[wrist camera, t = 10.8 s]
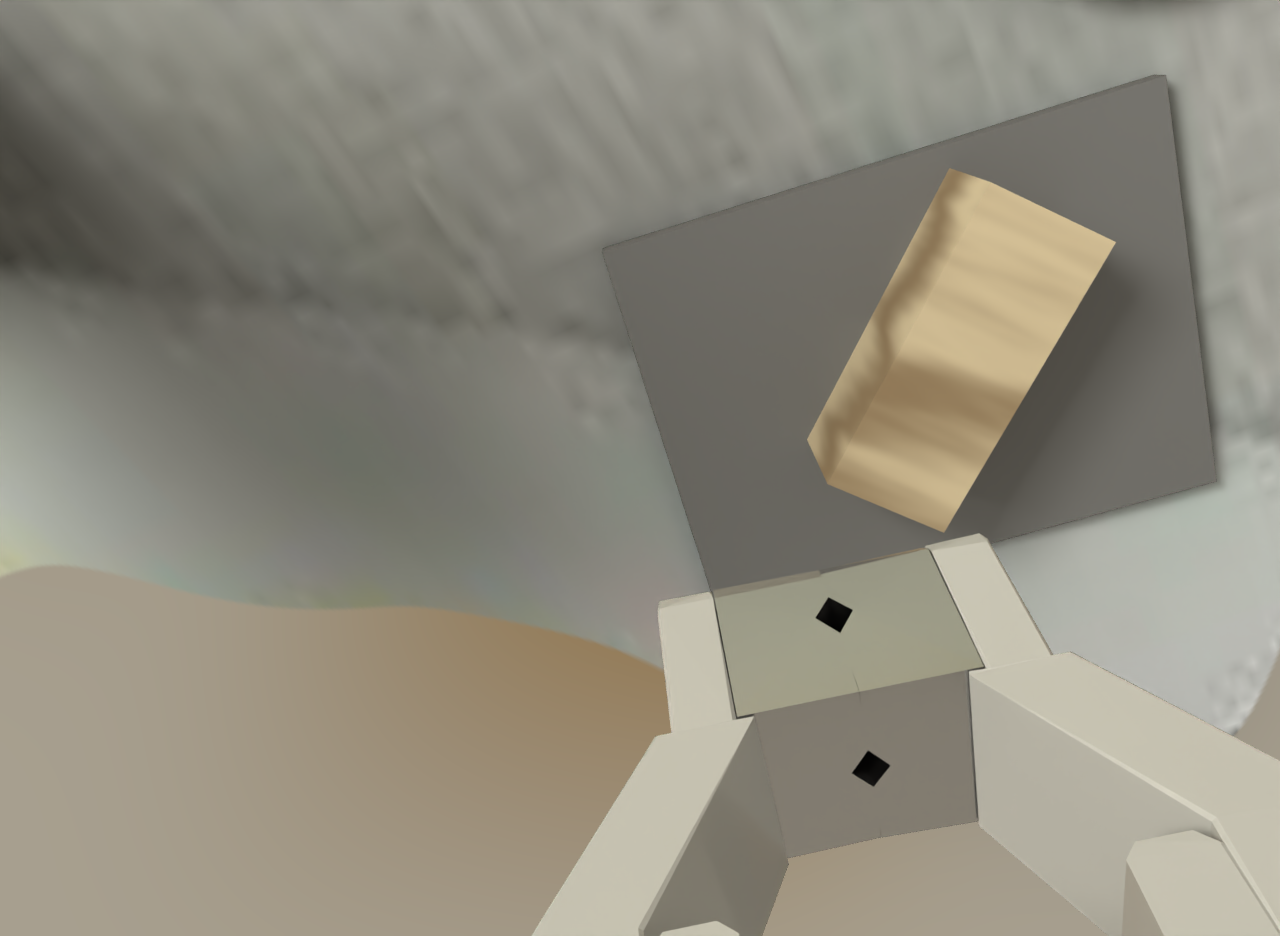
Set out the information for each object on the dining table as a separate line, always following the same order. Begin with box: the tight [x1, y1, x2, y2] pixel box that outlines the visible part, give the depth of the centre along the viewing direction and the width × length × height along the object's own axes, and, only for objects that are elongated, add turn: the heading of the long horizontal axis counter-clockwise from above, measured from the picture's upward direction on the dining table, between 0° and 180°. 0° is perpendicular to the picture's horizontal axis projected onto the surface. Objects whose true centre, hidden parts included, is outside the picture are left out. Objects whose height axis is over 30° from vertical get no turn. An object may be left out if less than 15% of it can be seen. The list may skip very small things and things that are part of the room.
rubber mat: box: [602, 75, 1217, 600], centre depth 44 cm, size 22×17×1 cm
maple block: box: [807, 168, 1116, 533], centre depth 41 cm, size 5×5×12 cm
